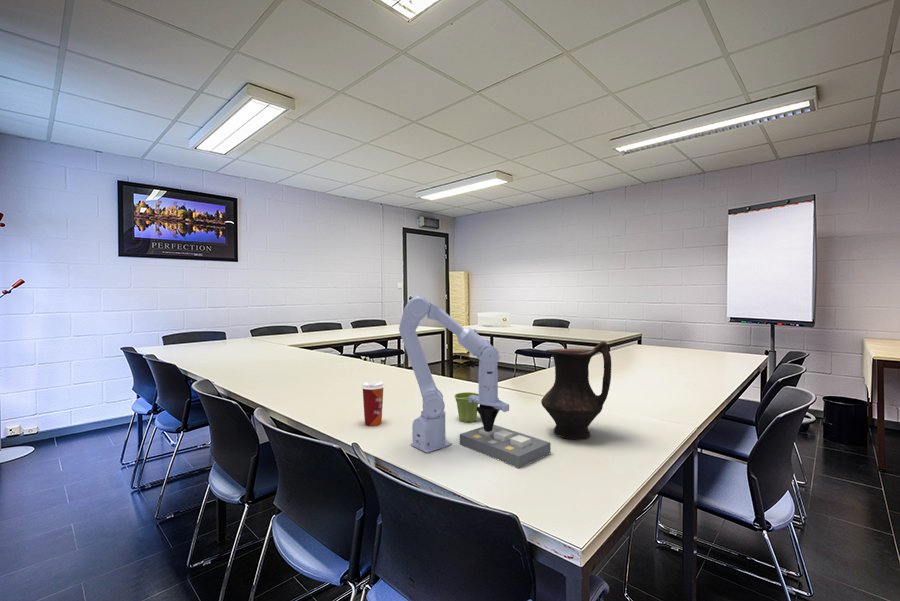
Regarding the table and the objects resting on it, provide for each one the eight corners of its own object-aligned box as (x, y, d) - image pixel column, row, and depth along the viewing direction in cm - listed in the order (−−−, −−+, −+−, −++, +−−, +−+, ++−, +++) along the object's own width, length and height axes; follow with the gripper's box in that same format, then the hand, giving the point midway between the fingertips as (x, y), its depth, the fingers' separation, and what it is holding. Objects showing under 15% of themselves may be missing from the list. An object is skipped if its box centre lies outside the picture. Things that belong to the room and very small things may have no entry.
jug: (533, 439, 120) (533, 341, 119) (548, 422, 136) (548, 336, 136) (607, 451, 110) (607, 345, 110) (614, 431, 126) (614, 338, 126)
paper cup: (382, 427, 131) (382, 385, 131) (359, 427, 131) (359, 385, 131) (386, 419, 139) (386, 380, 139) (364, 419, 139) (364, 380, 139)
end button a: (488, 444, 114) (488, 433, 114) (478, 440, 117) (478, 430, 117) (497, 440, 116) (497, 430, 116) (487, 437, 119) (487, 427, 119)
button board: (518, 468, 99) (518, 455, 99) (459, 444, 116) (459, 433, 116) (550, 453, 109) (550, 442, 109) (491, 433, 125) (491, 423, 125)
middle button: (504, 447, 109) (504, 436, 109) (493, 443, 112) (493, 432, 112) (513, 443, 112) (513, 433, 112) (502, 439, 115) (502, 429, 115)
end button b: (521, 453, 105) (521, 442, 105) (510, 449, 108) (510, 438, 108) (530, 449, 108) (530, 438, 108) (519, 445, 110) (519, 435, 110)
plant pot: (471, 425, 132) (471, 400, 132) (449, 420, 138) (449, 396, 138) (485, 418, 140) (485, 394, 140) (464, 414, 145) (464, 391, 145)
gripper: (515, 387, 114) (516, 433, 114) (479, 379, 125) (480, 422, 125) (499, 391, 109) (500, 439, 109) (463, 382, 120) (464, 427, 120)
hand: (488, 430), depth 117 cm, fingers closed, pressing on end button a
